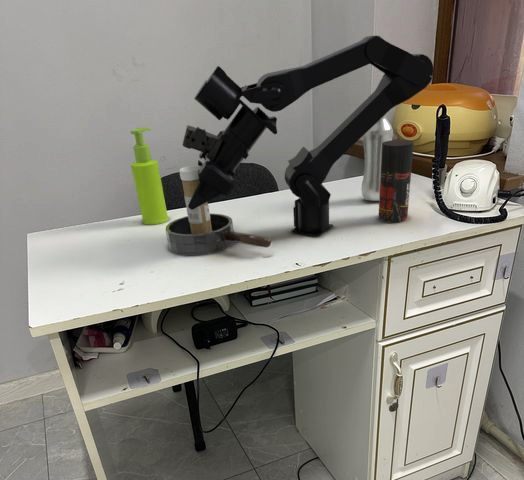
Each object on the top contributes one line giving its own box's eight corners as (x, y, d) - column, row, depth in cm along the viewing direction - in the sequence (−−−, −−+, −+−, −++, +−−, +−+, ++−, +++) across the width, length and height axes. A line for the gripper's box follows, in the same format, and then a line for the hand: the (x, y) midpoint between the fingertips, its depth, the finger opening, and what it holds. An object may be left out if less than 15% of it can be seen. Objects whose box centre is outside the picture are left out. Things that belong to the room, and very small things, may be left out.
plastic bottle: (392, 202, 112) (398, 106, 101) (363, 204, 112) (366, 109, 102) (386, 195, 118) (392, 103, 107) (358, 197, 118) (361, 105, 107)
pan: (232, 228, 106) (230, 210, 103) (236, 250, 94) (234, 230, 92) (170, 235, 105) (167, 217, 103) (167, 259, 94) (163, 239, 91)
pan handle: (274, 245, 90) (273, 236, 89) (267, 249, 89) (266, 240, 88) (226, 237, 96) (225, 228, 95) (219, 240, 95) (218, 232, 94)
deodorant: (379, 213, 106) (383, 140, 98) (407, 214, 105) (414, 139, 97) (377, 222, 101) (381, 146, 93) (406, 223, 100) (413, 145, 92)
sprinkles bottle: (217, 234, 99) (208, 165, 91) (200, 241, 96) (188, 171, 89) (204, 230, 101) (193, 163, 94) (186, 237, 99) (174, 168, 92)
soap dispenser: (174, 215, 117) (158, 125, 106) (160, 225, 112) (142, 131, 101) (153, 214, 119) (135, 126, 108) (138, 224, 114) (118, 131, 103)
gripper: (203, 101, 94) (158, 167, 100) (204, 113, 79) (150, 191, 84) (247, 140, 99) (202, 201, 104) (257, 158, 83) (203, 229, 89)
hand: (189, 204), depth 95 cm, fingers closed on sprinkles bottle, 4 cm apart
